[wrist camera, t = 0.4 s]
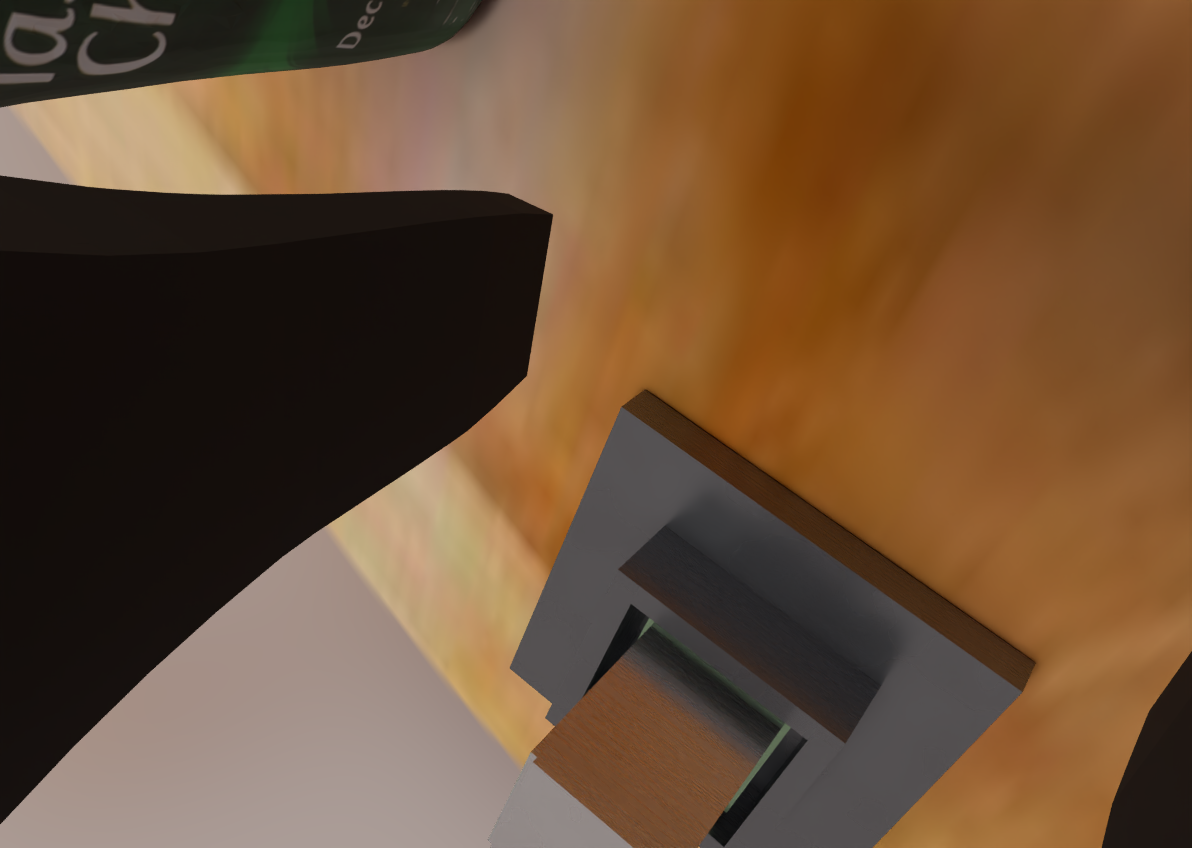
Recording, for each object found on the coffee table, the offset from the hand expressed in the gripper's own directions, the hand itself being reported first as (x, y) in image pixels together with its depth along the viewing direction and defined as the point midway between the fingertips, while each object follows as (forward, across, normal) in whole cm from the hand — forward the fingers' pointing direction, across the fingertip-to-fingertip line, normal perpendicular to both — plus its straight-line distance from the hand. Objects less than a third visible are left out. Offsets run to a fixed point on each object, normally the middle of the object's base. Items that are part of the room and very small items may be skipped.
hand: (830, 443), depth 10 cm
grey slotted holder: (+10, +3, +13) cm, 17 cm away
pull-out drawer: (+9, +3, +13) cm, 16 cm away
